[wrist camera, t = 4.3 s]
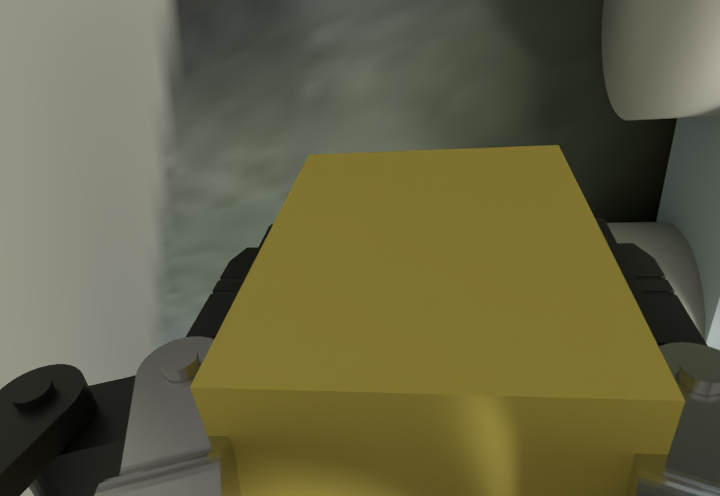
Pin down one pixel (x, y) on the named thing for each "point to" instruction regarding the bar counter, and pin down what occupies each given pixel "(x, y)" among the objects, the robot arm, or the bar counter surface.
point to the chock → (437, 336)
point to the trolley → (690, 142)
